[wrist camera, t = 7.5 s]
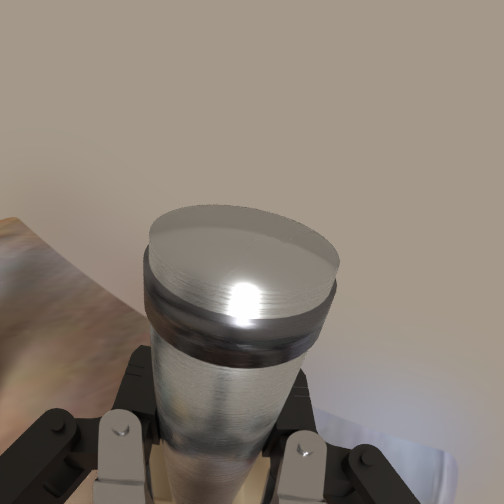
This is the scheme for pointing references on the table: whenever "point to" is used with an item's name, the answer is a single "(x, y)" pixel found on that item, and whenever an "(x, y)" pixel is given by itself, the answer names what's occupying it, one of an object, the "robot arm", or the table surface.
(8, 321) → the table surface
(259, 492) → the square ring gauge
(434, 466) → the table surface
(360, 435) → the table surface
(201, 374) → the cylinder
